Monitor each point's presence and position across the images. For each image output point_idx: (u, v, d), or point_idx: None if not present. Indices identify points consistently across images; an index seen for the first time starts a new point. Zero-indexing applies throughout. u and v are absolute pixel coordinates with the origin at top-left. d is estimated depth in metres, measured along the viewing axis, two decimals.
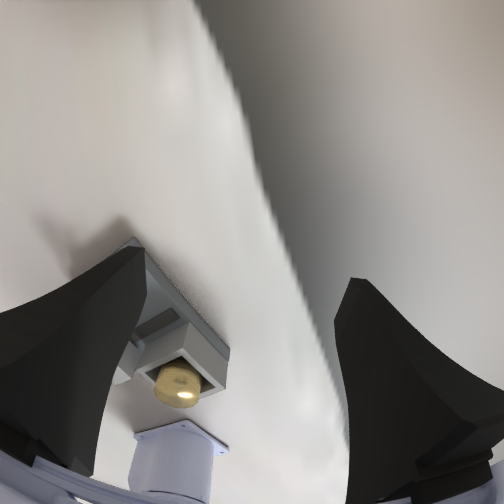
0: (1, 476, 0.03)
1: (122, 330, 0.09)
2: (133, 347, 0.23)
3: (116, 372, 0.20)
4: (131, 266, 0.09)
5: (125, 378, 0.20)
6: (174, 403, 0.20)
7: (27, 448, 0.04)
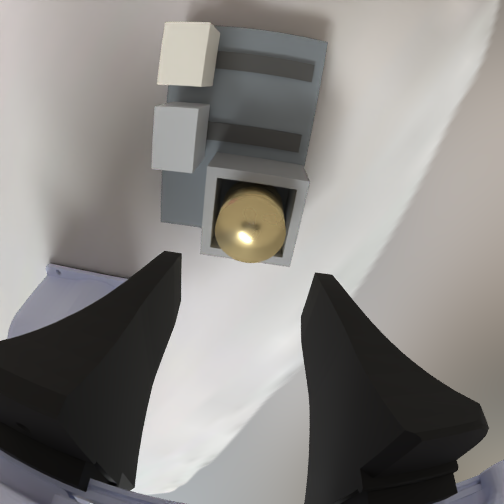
0: (1, 476, 0.03)
1: (162, 338, 0.09)
2: (205, 142, 0.15)
3: (179, 150, 0.13)
4: (172, 273, 0.09)
5: (183, 166, 0.13)
6: (229, 244, 0.14)
7: (82, 472, 0.04)
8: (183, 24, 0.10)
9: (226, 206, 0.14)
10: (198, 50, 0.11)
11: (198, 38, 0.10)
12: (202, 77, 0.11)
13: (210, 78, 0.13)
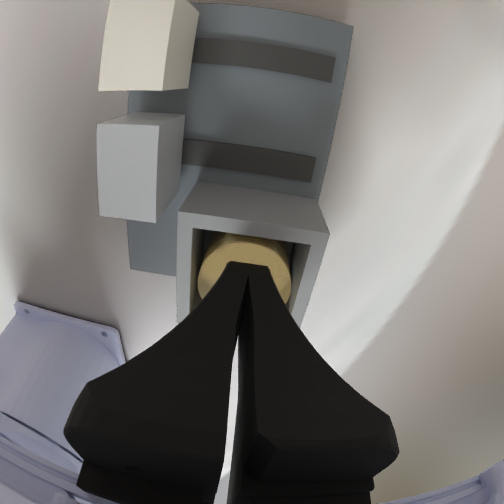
0: (1, 476, 0.03)
1: (233, 350, 0.09)
2: (179, 169, 0.11)
3: (134, 189, 0.09)
4: (246, 284, 0.09)
5: (142, 213, 0.09)
6: None
7: (200, 503, 0.04)
8: None
9: (211, 254, 0.10)
10: (158, 33, 0.06)
11: (158, 15, 0.06)
12: (164, 75, 0.07)
13: (182, 77, 0.09)
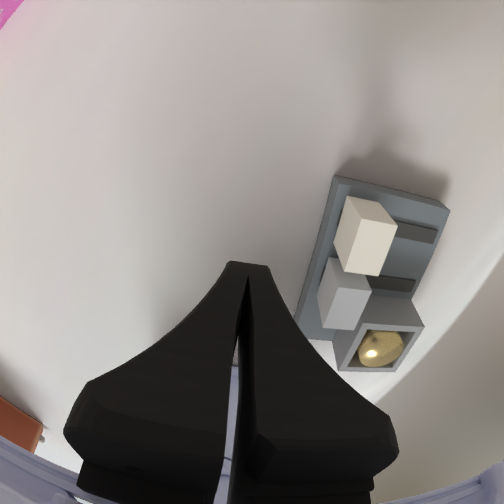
0: (1, 476, 0.03)
1: (233, 350, 0.09)
2: None
3: (348, 316, 0.17)
4: (246, 284, 0.09)
5: (348, 326, 0.17)
6: (366, 359, 0.19)
7: (200, 503, 0.04)
8: (376, 223, 0.14)
9: (371, 339, 0.18)
10: (384, 248, 0.14)
11: (385, 238, 0.14)
12: (380, 268, 0.15)
13: None
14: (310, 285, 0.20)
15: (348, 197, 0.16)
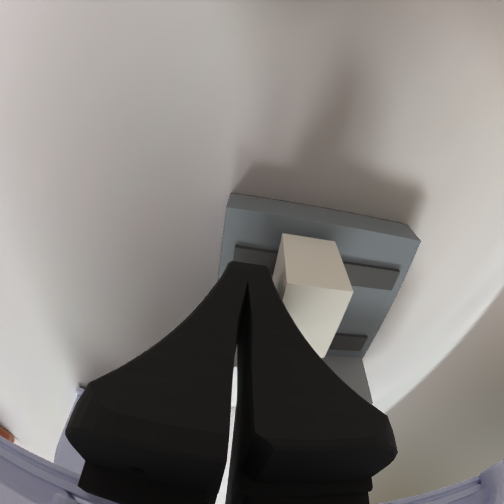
0: (1, 476, 0.03)
1: None
2: None
3: None
4: None
5: None
6: None
7: (202, 503, 0.04)
8: (314, 290, 0.09)
9: None
10: (330, 323, 0.09)
11: (332, 310, 0.09)
12: (327, 348, 0.10)
13: None
14: None
15: (283, 236, 0.11)
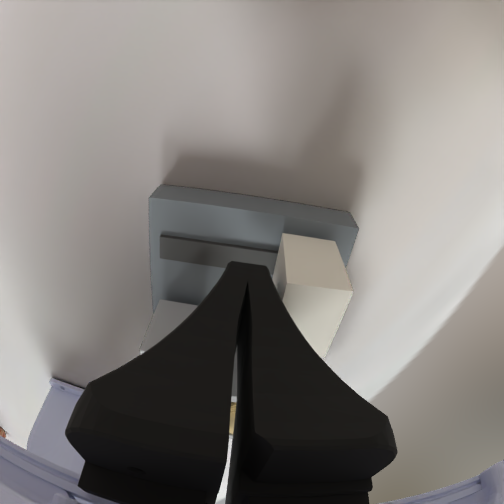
0: (1, 476, 0.03)
1: None
2: None
3: None
4: None
5: None
6: None
7: (202, 503, 0.04)
8: (314, 290, 0.09)
9: (231, 411, 0.13)
10: (330, 323, 0.09)
11: (333, 310, 0.09)
12: (327, 348, 0.10)
13: None
14: None
15: (283, 236, 0.11)
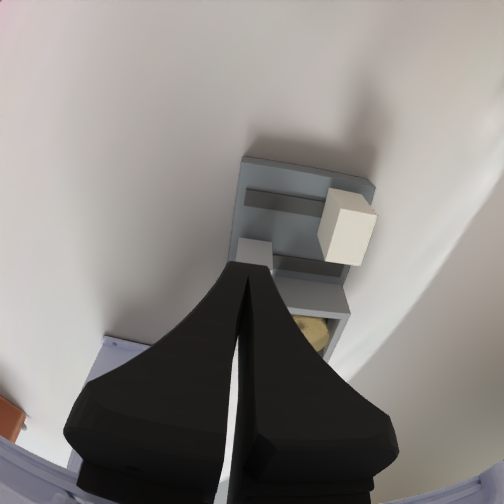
0: (1, 476, 0.03)
1: (233, 349, 0.09)
2: None
3: None
4: (246, 284, 0.09)
5: None
6: None
7: (200, 503, 0.04)
8: (355, 213, 0.14)
9: None
10: (364, 238, 0.15)
11: (366, 228, 0.15)
12: (361, 258, 0.16)
13: None
14: None
15: (330, 189, 0.17)
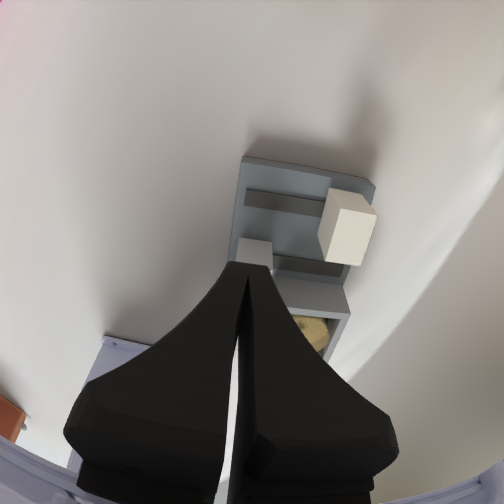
0: (1, 476, 0.03)
1: (233, 349, 0.09)
2: None
3: None
4: (246, 284, 0.09)
5: None
6: None
7: (200, 503, 0.04)
8: (355, 213, 0.14)
9: None
10: (364, 238, 0.15)
11: (366, 228, 0.15)
12: (361, 258, 0.16)
13: None
14: None
15: (330, 189, 0.17)
